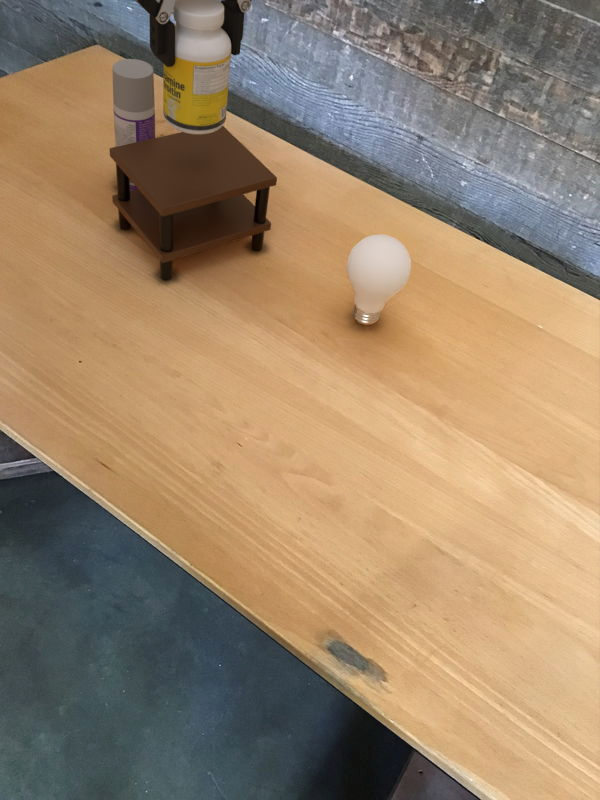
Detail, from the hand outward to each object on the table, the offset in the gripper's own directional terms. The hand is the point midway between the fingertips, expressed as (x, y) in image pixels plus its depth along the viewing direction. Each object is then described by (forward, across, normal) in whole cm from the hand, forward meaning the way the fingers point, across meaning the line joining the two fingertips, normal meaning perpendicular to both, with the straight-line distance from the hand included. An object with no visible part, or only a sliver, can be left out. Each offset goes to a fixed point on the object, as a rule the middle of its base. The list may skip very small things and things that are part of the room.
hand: (196, 52), depth 73 cm
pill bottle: (+7, 0, 0) cm, 7 cm away
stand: (+22, 0, 0) cm, 22 cm away
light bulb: (+22, -10, +21) cm, 32 cm away
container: (+22, +1, -12) cm, 25 cm away
